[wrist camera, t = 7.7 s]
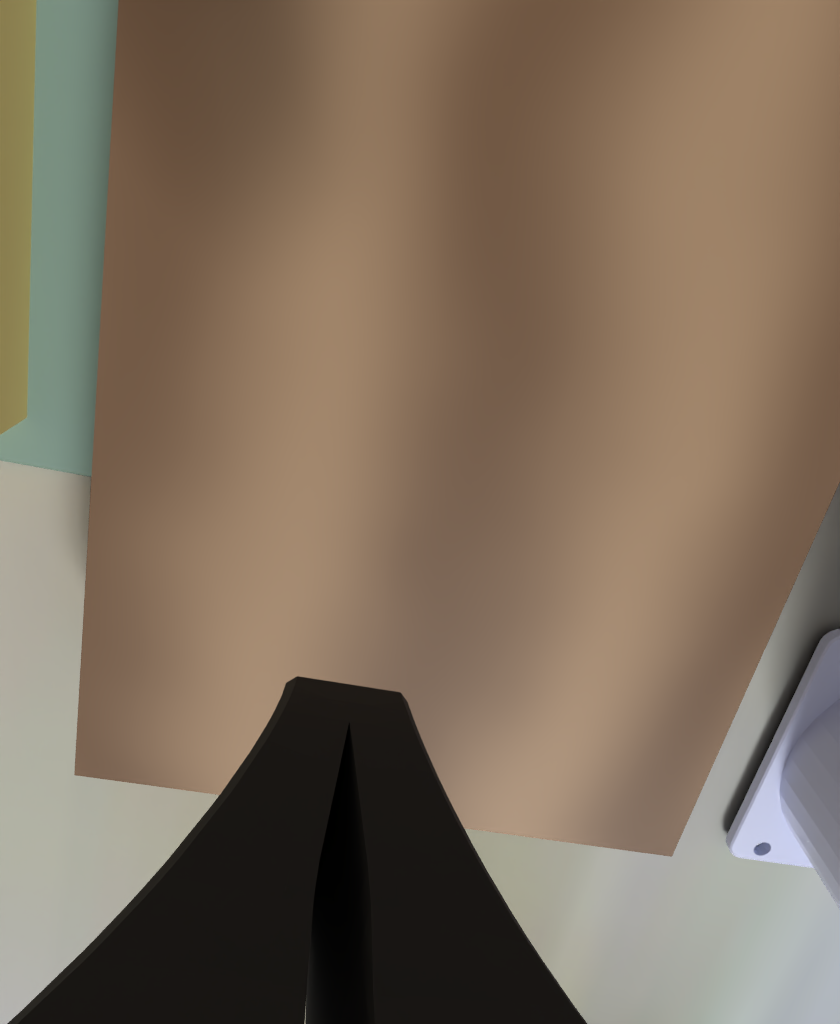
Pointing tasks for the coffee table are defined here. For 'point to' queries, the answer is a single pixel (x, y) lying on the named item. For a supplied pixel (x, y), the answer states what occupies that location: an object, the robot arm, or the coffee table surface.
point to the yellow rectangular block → (15, 202)
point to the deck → (462, 385)
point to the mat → (67, 232)
